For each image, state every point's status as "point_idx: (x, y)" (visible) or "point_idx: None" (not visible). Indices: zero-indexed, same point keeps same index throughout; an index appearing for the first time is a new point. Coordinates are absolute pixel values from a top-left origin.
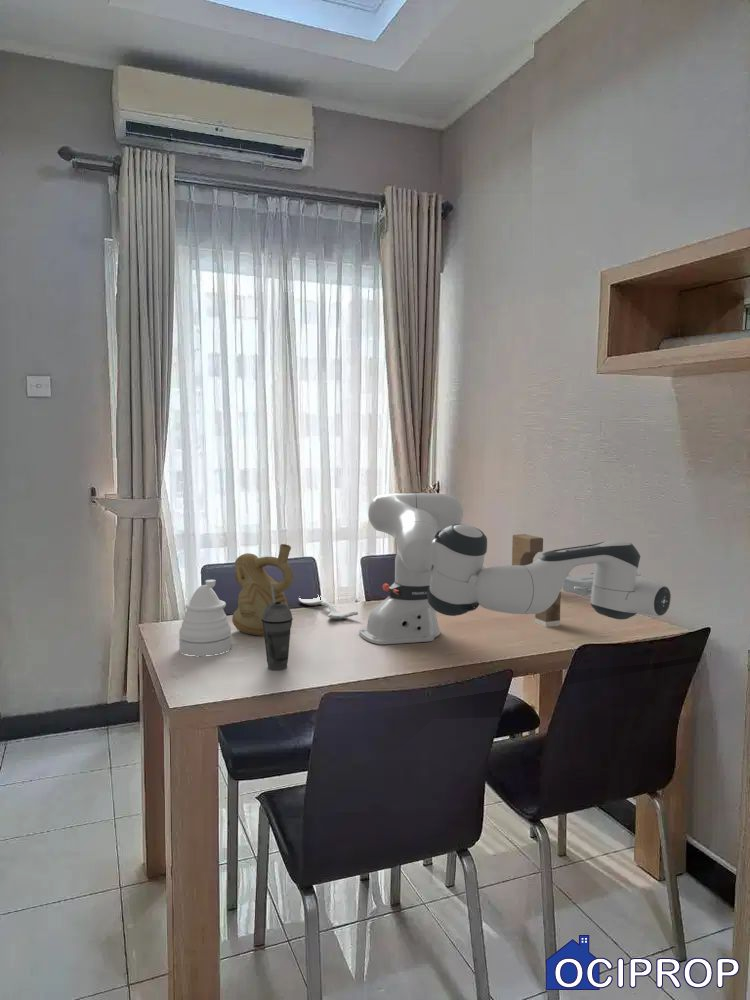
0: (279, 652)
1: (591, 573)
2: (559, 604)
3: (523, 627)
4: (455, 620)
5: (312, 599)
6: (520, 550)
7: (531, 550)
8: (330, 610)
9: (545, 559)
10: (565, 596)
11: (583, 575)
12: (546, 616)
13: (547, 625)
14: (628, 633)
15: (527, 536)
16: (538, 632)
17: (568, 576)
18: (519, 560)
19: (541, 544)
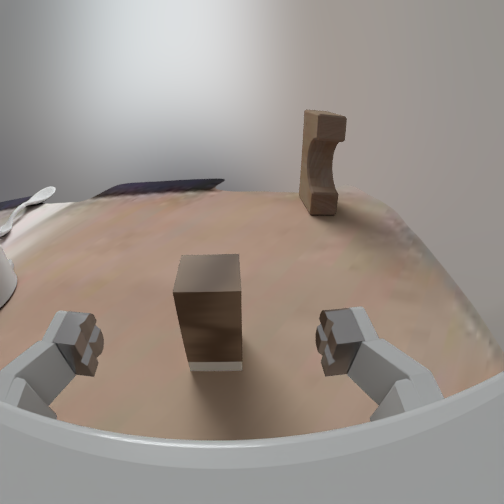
0: None
1: (325, 315)
2: (237, 327)
3: (136, 350)
4: (75, 272)
5: (45, 194)
6: (309, 135)
7: (319, 135)
8: (7, 221)
9: None
10: (371, 227)
11: (36, 447)
12: (186, 351)
13: (195, 368)
14: None
15: (323, 112)
16: (132, 398)
17: (50, 339)
18: (307, 151)
19: (341, 128)
